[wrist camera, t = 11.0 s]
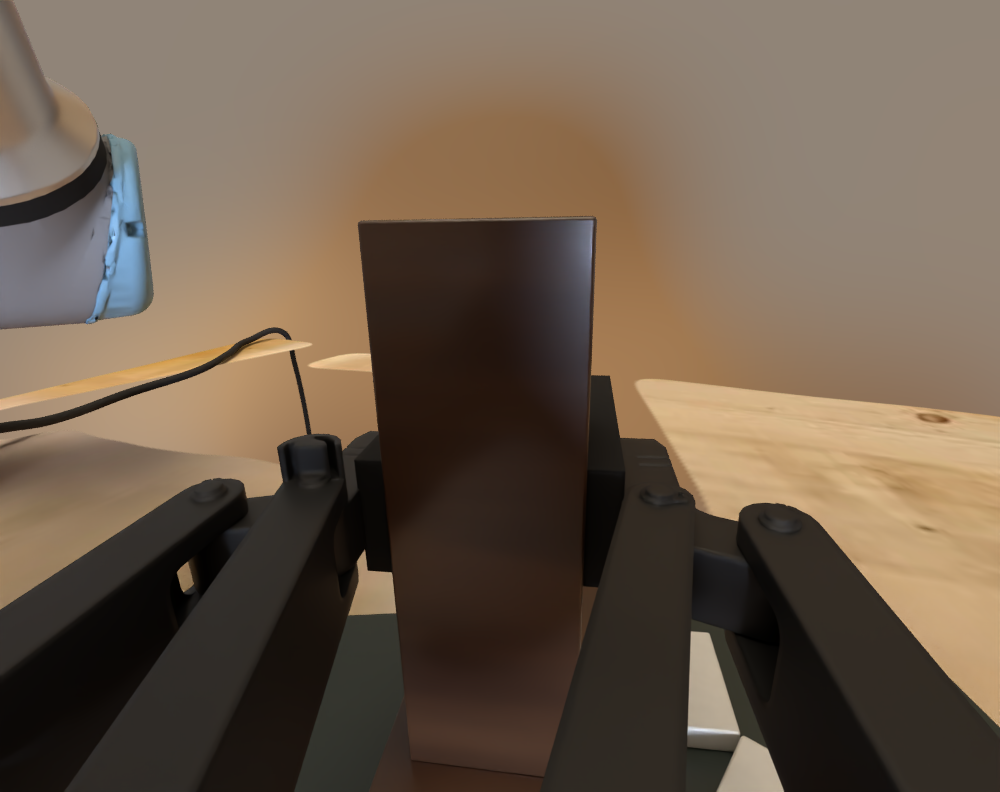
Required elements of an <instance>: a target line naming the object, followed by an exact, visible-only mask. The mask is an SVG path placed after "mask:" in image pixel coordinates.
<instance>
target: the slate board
mask: <svg viewBox="0 0 1000 792" xmlns="http://www.w3.org/2000/svg"><path fill="white" fill-rule="evenodd" d="M691 631H692V632H705V633H709V634H710V637H711V640H712V643H713V647H714V650H715V653H716V656H717V660H718V663H719V666H720V669H721V672H722V676H723V679H724V682H725V685H726V689H727V692H728V695H729V698H730V702H731V705H732V708H733V711H734V715H735V718H736V721H737V724H738V727H739V731H740V738H741V737H742V736H746V737H747V738H749V739H751V740H753V741H755V742H756V743H758V744H760V745H762V746H764V747H765V748H767V746H766V743H765V741H764V738H763V736H762V733H761V730H760V728H759V725H758V723H757V720H756V717H755V715H754V712H753V710H752V707H751V704H750V702H749V699H748V697H747V694H746V691H745V689H744V686H743V684H742V681H741V679H740V676H739V673H738V671H737V668H736V666H735V663H734V660H733V658H732V655H731V653H730V650H729V647H728V645H727V642H726V640H725V633H724V629H722V628H719V627H715V626H712V625H709V624H706V623H702V622H699V621H696V620H693V619H691ZM950 680H951V679H950ZM951 681H952V680H951ZM952 682H953V681H952ZM953 683H954V682H953ZM954 684H955V683H954ZM955 686H956V687H957V688H958V689H959V690H960V691H961V693H962V694H963V695H964V696H965V697H966V699H967V700H968V701H969V702H970V703H971V705H972V706H973V707H974V708H975V709H976V711H977V712H978V713H979V714H980V715H981V716H982V718H983V719H984V720H985V721H986V722H987V724H988V725H989V726H990V727H991V728H992V730H993V731H994V732H995V733H996V734H997V736H998V737H999V738H1000V727H999V726H998V725H997V724H996V723H995V722H994V721H993V720H992V719H991V718H990V717H989V716H988V715H987V714H986V713H984V712H983V711H982V710H981V709H980V708H979V707H978V706H977V705H976V704H975V703H974V702H973V701H972V700H971V699H970V698H969V697H968V696H967V695H966V694H965V693H964V692H963V691H962V690H961V689H960V688H959V687H958V686H957V685H956V684H955ZM403 697H404V686H403V675H402V665H401V655H400V645H399V635H398V625H397V615H396V613H395V614H372V615H349V616H348V617H347V620H346V624H345V627H344V630H343V633H342V637H341V640H340V643H339V647H338V650H337V653H336V656H335V660H334V663H333V666H332V669H331V673H330V676H329V679H328V683H327V686H326V689H325V692H324V696H323V699H322V702H321V705H320V709H319V712H318V715H317V719H316V722H315V725H314V728H313V732H312V735H311V738H310V741H309V745H308V748H307V751H306V755H305V758H304V761H303V764H302V768H301V771H300V774H299V777H298V781H297V784H296V787H295V791H294V792H369V790H370V787H371V784H372V781H373V779H374V776H375V773H376V771H377V768H378V765H379V762H380V760H381V757H382V754H383V751H384V749H385V746H386V743H387V741H388V738H389V735H390V732H391V730H392V727H393V724H394V722H395V719H396V716H397V713H398V711H399V708H400V705H401V703H402V700H403ZM740 738H739V740H740ZM767 749H768V748H767ZM733 753H734V752H728V751H719V750H710V749H701V748H692V747H687V765H686V792H716V791H717V789H718V787H719V784H720V782H721V780H722V778H723V776H724V773H725V771H726V769H727V767H728V764H729V762H730V760H731V758H732V756H733Z"/></svg>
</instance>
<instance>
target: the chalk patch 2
mask: <svg viewBox="0 0 1000 792" xmlns="http://www.w3.org/2000/svg"><path fill="white" fill-rule="evenodd" d="M716 792H784V790H783V787H782V785H781V782H780V780H779V777H778V774H777V772H776V769H775V767H774V764H773V761H772V759H771V756H770V754H769V751H768V749H767V748H765V747H764V746H762V745H760V744H758V743H756V742H755V741H753V740H751V739H749V738H747V737H746V736H742V737H741V738H740V740H739V742H738V744H737V747H736V749H735V751H734V753H733V756H732V758H731V760H730V762H729V764H728V767H727V769H726V771H725V773H724V776H723V778H722V780H721V782H720V784H719V787H718V789H717V791H716Z"/></svg>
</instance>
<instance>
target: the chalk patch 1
mask: <svg viewBox="0 0 1000 792" xmlns="http://www.w3.org/2000/svg"><path fill="white" fill-rule="evenodd" d="M739 738H740V731H739V727H738V724H737V721H736V718H735V715H734V711H733V708H732V705H731V702H730V698H729V695H728V692H727V689H726V685H725V682H724V679H723V676H722V672H721V669H720V666H719V663H718V660H717V656H716V653H715V650H714V647H713V643H712V640H711V637H710V634H709V633H705V632H692V631H691V645H690V675H689V705H688V735H687V747H692V748H701V749H710V750H719V751H728V752H734V751H735V749H736V747H737V744H738V742H739Z"/></svg>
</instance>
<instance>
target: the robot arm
mask: <svg viewBox="0 0 1000 792" xmlns="http://www.w3.org/2000/svg"><path fill="white" fill-rule="evenodd" d="M153 294H154V293H153V282H152V272H151V264H150V255H149V247H148V238H147V230H146V221H145V214H144V206H143V198H142V189H141V181H140V173H139V166H138V158H137V152H136V148H135V146H134V145H133V144H132V143H131V142H130V141H129V140H126V139H123V138H117V137H115V136H114V135H112V134H107V135H104V134H103V135H102V136H101V135H100V132H99V129H98V126H97V123H96V121H95V119H94V118H93V116H92V114H91V112H90V110H89V108H88V107H87V106H86V104H85V103H84V102H82V100H81V99H80V98H79V97H77V96H76V95H75V94H74V93H73V92H71V91H70V90H69V89H67V88H66V87H64V86H62V85H61V84H59V83H57V82H55V81H53V80H52V79H49V78H47V77H45V76H44V74H43V72H42V69H41V66H40V64H39V62H38V59H37V57H36V55H35V52H34V50H33V47H32V45H31V42H30V40H29V37H28V35H27V33H26V30H25V28H24V25H23V23H22V20H21V18H20V16H19V13H18V11H17V8H16V6H15V4H14V1H13V0H0V329H11V328H25V327H38V326H52V325H65V324H79V323H86V324H92V323H95V322H97V321H98V320H103V319H110V318H117V317H124V316H132V315H136V314H139V313H141V312H143V311H144V310H146V309H147V308H148V307H149V305H150V304H151V302H152V299H153ZM271 333H279V334H281V335H283V336H284V337H285V338H286V340H292V339H291V337H290V335H289V334H288V333H287V332H286V331H285V330H283V329H281V328H268V329H265V330H263V331H261V332H259V333H257V334H255V335H253V336H251V337H249V338H246V339H243V340H241V341H239V342H238V343H236V344H235V345H234V346H233V347H232V348H231V349H229V350H228V351H226V352H225V353H223V354H222V355H220V356H218V357H217V358H215V359H213V360H212V361H210V362H208V363H206V364H203V365H201V366H199V367H196V368H194V369H191V370H188V371H185V372H182V373H179V374H176V375H173V376H170V377H166V378H163V379H160V380H156V381H153V382H149V383H146V384H142V385H139V386H136V387H133V388H130V389H127V390H124V391H121V392H118V393H115V394H112V395H110V396H107V397H104V398H102V399H99V400H96V401H94V402H91V403H88V404H86V405H83V406H80V407H77V408H74V409H71V410H68V411H64V412H61V413H58V414H53V415H50V416H45V417H41V418H35V419H28V420H20V421H11V422H4V423H0V433H4V432H11V431H17V430H25V429H32V428H38V427H43V426H48V425H52V424H55V423H59V422H63V421H66V420H69V419H72V418H75V417H78V416H81V415H84V414H86V413H89V412H92V411H94V410H97V409H99V408H102V407H104V406H107V405H110V404H112V403H115V402H117V401H120V400H123V399H126V398H128V397H131V396H134V395H137V394H140V393H143V392H146V391H150V390H153V389H156V388H159V387H162V386H166V385H169V384H172V383H175V382H179V381H182V380H185V379H188V378H190V377H193V376H196V375H198V374H200V373H203V372H205V371H207V370H209V369H211V368H213V367H215V366H216V365H218V364H220V363H221V362H223V361H224V360H226V359H227V358H229V357H230V356H232V355H233V354H235V353H236V352H237V351H238V350H239V349H240V348H241V347H242V346H244V345H246V344H249V343H251V342H253V341H255V340H257V339H259V338H261V337H263V336H265V335H267V334H271ZM290 357H291V361H292V365H293V369H294V373H295V377H296V381H297V385H298V390H299V394H300V399H301V404H302V409H303V415H304V420H305V426H306V433H307V435H304V436H300V437H296V438H293V439H290V440H288V441H286V442H284V443H282V444H281V445H279V446H278V447H277V450H278V455H279V461H280V467H281V473H282V478H283V483H282V485H281V486H280V487H279V489H278V490H277V492H276V493H275V495H272V496H263V497H254V498H247V497H246V492H245V487H244V484H243V483H242V482H241V481H239V480H235V479H221V478H216V479H213V480H211V479H209V480H205V481H203V482H202V483H199V484H196V485H193V486H191V487H189V488H187V489H185V490H183V491H182V492H180V493H179V494H177V495H176V496H174V497H172V498H171V499H169V500H168V501H166V502H165V503H163V504H162V505H160V506H159V507H157V508H156V509H154V510H153V511H151V512H149V513H148V514H146V515H145V516H143V517H142V518H140V519H139V520H137V521H136V522H134V523H133V524H131V525H130V526H128V527H126V528H125V529H123V530H122V531H120V532H119V533H117V534H116V535H114V536H113V537H111V538H110V539H108V540H106V541H105V542H103V543H102V544H100V545H99V546H97V547H96V548H94V549H93V550H91V551H90V552H88V553H87V554H85V555H83V556H82V557H80V558H79V559H77V560H76V561H74V562H73V563H71V564H70V565H68V566H67V567H65V568H63V569H62V570H60V571H59V572H57V573H56V574H54V575H53V576H51V577H50V578H48V579H47V580H45V581H44V582H42V583H40V584H39V585H37V586H36V587H34V588H33V589H31V590H30V591H28V592H27V593H25V594H24V595H22V596H21V597H19V598H17V599H16V600H14V601H13V602H11V603H10V604H8V605H7V606H5V607H4V608H2V609H1V610H0V792H294V791H295V787H296V784H297V781H298V777H299V774H300V771H301V768H302V764H303V761H304V758H305V755H306V751H307V748H308V745H309V741H310V738H311V735H312V732H313V728H314V725H315V722H316V719H317V715H318V712H319V709H320V705H321V702H322V699H323V696H324V692H325V689H326V686H327V683H328V679H329V676H330V673H331V669H332V666H333V663H334V660H335V656H336V653H337V650H338V647H339V643H340V640H341V637H342V633H343V630H344V627H345V624H346V620H347V617H348V614H349V611H350V607H351V604H352V601H353V597H354V594H355V591H356V588H357V584H358V567H357V560H358V559H359V557H360V556H361V554H362V553H363V551H364V549H365V552H366V560H367V568H368V571H381V572H392V564H391V554H390V544H389V534H388V524H387V514H386V503H385V493H384V483H383V473H382V463H381V453H380V443H379V433H378V431H370V432H367V433H365V434H363V435H361V436H359V437H357V438H355V439H354V440H353V441H352V442H351V443H350V444H349V445H348V446H347V448H345V449H344V450H343V451H342V446H341V440H340V439H339V438H338V437H337V436H333V435H329V434H311V428H310V421H309V415H308V410H307V404H306V399H305V395H304V389H303V385H302V381H301V376H300V372H299V368H298V364H297V361H296V356H295V350H290ZM187 562H189V566H190V570H191V574H192V578H193V582H194V585H193V586H192V587H190V588H189V589H188V590H187V591H185V592H183V591H182V589H181V587H180V583H179V579H178V576H177V571H178V570H179V569H180V568H181V567H182V566H183V565H184V564H185V563H187ZM583 586H584V587H598V590H597V593H596V597H595V600H594V604H593V607H592V611H591V614H590V618H589V621H588V625H587V628H586V632H585V635H584V639H583V642H582V646H581V649H580V653H579V656H578V660H577V663H576V667H575V670H574V674H573V677H572V681H571V684H570V688H569V691H568V695H567V698H566V702H565V705H564V709H563V712H562V716H561V719H560V723H559V726H558V730H557V733H556V737H555V740H554V744H553V747H552V751H551V754H550V758H549V761H548V765H547V768H546V772H545V775H544V779H543V782H542V786H541V789H540V792H686V765H687V735H688V705H689V675H690V645H691V619H693V620H696V621H699V622H702V623H706V624H709V625H712V626H715V627H719V628H722V629H724V633H725V640H726V642H727V645H728V647H729V650H730V653H731V655H732V658H733V660H734V663H735V666H736V668H737V671H738V673H739V676H740V679H741V681H742V684H743V686H744V689H745V691H746V694H747V697H748V699H749V702H750V704H751V707H752V710H753V712H754V715H755V717H756V720H757V723H758V725H759V728H760V730H761V733H762V736H763V738H764V741H765V743H766V746H767V748H768V751H769V754H770V756H771V759H772V761H773V764H774V767H775V769H776V772H777V774H778V777H779V780H780V782H781V785H782V787H783V790H784V792H1000V738H999V737H998V736H997V734H996V733H995V732H994V731H993V730H992V728H991V727H990V726H989V725H988V724H987V722H986V721H985V720H984V719H983V718H982V716H981V715H980V714H979V713H978V712H977V711H976V709H975V708H974V707H973V706H972V705H971V703H970V702H969V701H968V700H967V699H966V697H965V696H964V695H963V694H962V693H961V691H960V690H959V689H958V688H957V687H956V686H955V684H954V683H953V682H952V681H951V680H950V678H949V677H948V676H947V675H946V674H945V672H944V671H943V670H942V669H941V668H940V666H939V665H938V664H937V663H936V662H935V660H934V659H933V658H932V657H931V656H930V655H929V653H928V652H927V651H926V650H925V649H924V647H923V646H922V645H921V644H920V643H919V641H918V640H917V639H916V638H915V637H914V635H913V634H912V633H911V632H910V631H909V630H908V628H907V627H906V626H905V625H904V624H903V622H902V621H901V620H900V619H899V618H898V616H897V615H896V614H895V613H894V612H893V610H892V609H891V608H890V607H889V606H888V605H887V603H886V602H885V601H884V600H883V599H882V597H881V596H880V595H879V594H878V593H877V591H876V590H875V589H874V588H873V587H872V585H871V584H870V583H869V582H868V581H867V580H866V578H865V577H864V576H863V575H862V574H861V572H860V571H859V570H858V569H857V568H856V566H855V565H854V564H853V563H852V562H851V560H850V559H849V558H848V557H847V556H846V555H845V553H844V552H843V551H842V550H841V549H840V547H839V546H838V545H837V544H836V543H835V541H834V540H833V539H832V538H831V537H830V535H829V534H828V533H827V532H826V531H825V529H824V528H823V527H822V526H821V525H820V524H819V523H818V522H817V521H816V520H815V519H814V518H812V517H811V516H810V515H808V514H806V513H804V512H802V511H800V510H798V509H796V508H794V507H791V506H786V505H784V504H779V503H776V504H771V503H758V504H751V505H749V506H746V507H744V508H743V509H742V510H741V512H740V513H739V520H738V521H734V520H729V519H725V518H720V517H716V516H713V515H709V514H707V513H704V512H702V511H699V510H698V509H696V508H695V500H694V498H693V495H691V494H690V493H689V492H688V491H687V490H686V489H683V488H681V487H680V486H679V483H678V481H677V478H676V475H675V472H674V470H673V467H672V464H671V461H670V459H669V455H668V453H667V450H666V447H664V446H663V445H661V444H660V443H659V442H658V441H656V440H654V439H635V438H620V435H619V429H618V423H617V417H616V411H615V405H614V399H613V393H612V387H611V381H610V376H594V375H592V376H591V387H590V414H589V441H588V467H587V494H586V521H585V547H584V574H583Z"/></svg>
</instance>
